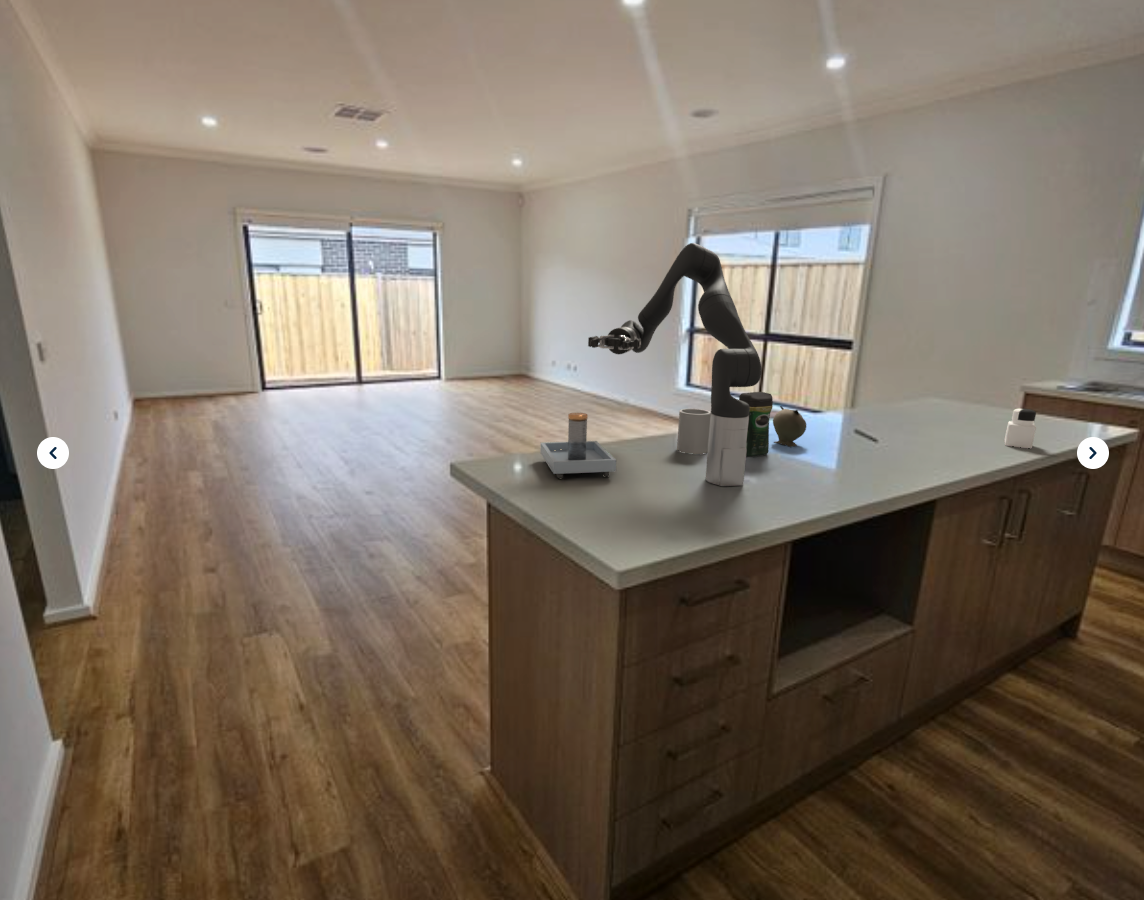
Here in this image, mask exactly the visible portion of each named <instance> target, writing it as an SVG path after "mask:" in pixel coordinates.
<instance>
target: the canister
mask: <svg viewBox="0 0 1144 900" xmlns="http://www.w3.org/2000/svg"><path fill="white" fill-rule="evenodd" d="M588 417H589V416H588V414H587V413H585V412H571V413H568V417H567V419H568V429H567V430H568V431H567V434H568V436H567V437H568V439H567V442H568V460H586V442H587V441H588V440H587V439H588V438H587V437H588V436H587V435H588V419H589V418H588Z"/></svg>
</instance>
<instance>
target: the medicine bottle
mask: <svg viewBox="0 0 1144 900" xmlns="http://www.w3.org/2000/svg"><path fill="white" fill-rule="evenodd" d="M1036 415H1037V412H1036V411H1035V410H1033V409H1029V408H1023V407H1022V408H1015V409H1014V410H1012V416H1011V420H1009V421H1008V422H1007V427H1006V431H1005V436H1004V445H1005V446H1006V447H1012V446H1014V447H1013V448H1020V447H1021V448H1020V449H1028V448H1030V449H1029V450H1031V449H1032V448H1033V444H1034V439H1035V435H1036V431H1037V426H1036V425H1035V420H1036Z"/></svg>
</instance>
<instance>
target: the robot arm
mask: <svg viewBox="0 0 1144 900" xmlns="http://www.w3.org/2000/svg"><path fill="white" fill-rule="evenodd" d="M684 277H686V278H687V279H690V280H692V281H693V282H696V283H697V284H699V285H700V286H701V288H702V290H703V294H702V295H701V297H700V298H699V301H698V305H697V311H698V314H699V317H700V319H701V323H702V325H703V328H704V329H705V330H706V332H707V333H708V334H709V335H710V336H712V337H713V338H714V339H715V340H717V341H718V342H719V343H721V344H722V345H724V346H725V347H726V348H720V349H718V350H717V351H716V352H715V353H714V354H713V359H712V365H711V389H710V407H711V408H710V412H711V416H710V428H709V440H708V452H707V453H706V468H705V481H706V482H708V483H710V484H714V485H718V486H720V487H734V486H744V481H745V480H744V479H745V469H746V461H747V460H746V459H747V456H746V452H747V449H746V441H747V431H748V421H749V411H750V406H749V404H747V403H746V402H743V401H741V400H739V398H736V397H734V396H732V394H731V388H749V387H754V386H755V385H757V384H758V383H759V382H760V380H761V378H762V373H763V372H762V362H761V358H760V355H759V353H758V351H757V350H756V348H755V346H754V344H753V342H752V341H751V339H750V337H749V335H748V333H747V331H746V330H745V328H744V325H743V323H742V320H741V319H740V315H739V313H738V311H737V308H736V305H735V303H734V300H733V298H732V296H731V294H730V291H729V288H728V285H727V282H726V279H725V276H724V271H723V267H722V264H721V259H720V257H719V256H718V254H717V253H715V252H714V251H712V250H711V249H708V248H706V247H704V246H702V245H700V244H698V243H694V242H690V243H688V244H686V245H685V246H684V247H683V248H682V250H681V251H680V252H679V254H678V255H677V256H676V258H675V260H674V261H673V263H672V265H671V266H670V268H669V270H668V271H667V273H666V275H665V276H664V278H663V280H662V282H661V283H660V285H659V286H658V289H656V292H655V293H654V294H653V296H652V297H651V299H649V301H648V302H647V303H646V304H645V306H644V307H643V308H642V309H641V310H640V311H639V314H638V315H637V320H638V323H639V324H640V325H639V324H638V323H637V322H636V321H634V320H631V319H630V320H627V321H625V322H624V323H623V324H622V325H621V326H620V327H617V328H614V329H611V330H610V331H609V332H608V334H607V335H601V336H597V335H595V336H589V337H588V341H587V342H588V343H587V344H588V345H587V347H589V348H593V349H595V348H600V349H602V350H603V349H607V350H608V349H609V351H610V352H611V353H612V354H615V355H624V354H626V353H628V352H630V351H632V352H634V353H635V354H636V353H637V354H640V353H642V352H644V351H645V350H646V349H647V348H648V347H649V346H650V343H651V341H652V338H653V337H654V334H655V331H656V330H657V328H658V327H659V326H660V325H661V323H662V322H663V321H664V320H665V319H666V317H668V315H669V314H670V312H671V311H672V309H673V303H674V296H675V290H676V286H677V285H678V283H679V281H680V280H681V279H682V278H684Z"/></svg>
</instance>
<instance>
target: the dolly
mask: <svg viewBox="0 0 1144 900" xmlns="http://www.w3.org/2000/svg"><path fill="white" fill-rule="evenodd" d="M539 449H540V455H541V456H542V459H544V461H545V462H546V464H547V466H548V467H549V469H550V470H551V473H552V474H553V475H555V474H556V478H557V477H558V478H563V479H564V474H581V473H582V474H583V473H602V476H603V475H604V476H609V477H610V472H616V471H617V459H616V458H615V457H614V456H613V455H612V454H611V453H610V452H609V451H607V449H606V448H605V447H603V446H602V444H600V442H598V441H597V440H587V442H586V460H568V441H553V442H552V441H550V442H549V441H548V442H547V441H546V442H540V448H539ZM560 449H562V450H560ZM554 450H556V451H554Z"/></svg>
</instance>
